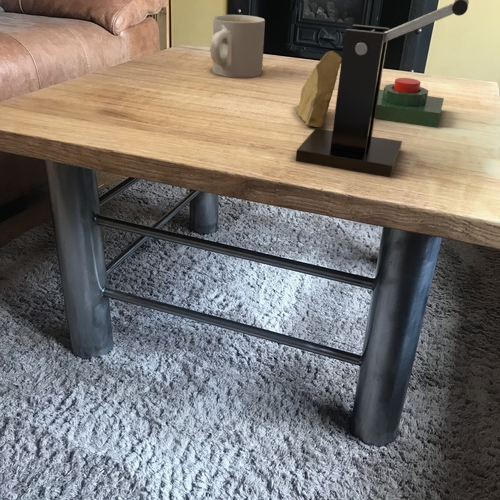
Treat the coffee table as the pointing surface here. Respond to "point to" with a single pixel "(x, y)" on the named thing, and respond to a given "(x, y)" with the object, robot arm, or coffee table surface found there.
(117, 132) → the coffee table surface
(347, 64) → the cutter
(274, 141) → the coffee table surface
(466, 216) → the coffee table surface
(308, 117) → the rock
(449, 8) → the knife lever
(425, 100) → the block
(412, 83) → the button
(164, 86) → the coffee table surface
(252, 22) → the coffee mug
